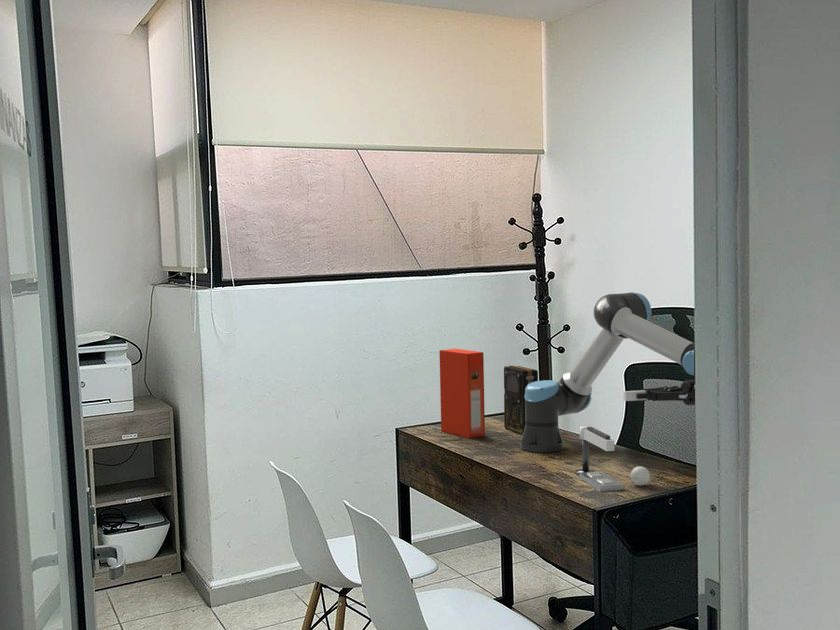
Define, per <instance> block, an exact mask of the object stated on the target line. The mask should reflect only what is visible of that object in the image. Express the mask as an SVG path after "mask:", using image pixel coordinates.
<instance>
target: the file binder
mask: <svg viewBox="0 0 840 630" xmlns="http://www.w3.org/2000/svg"><path fill="white" fill-rule="evenodd" d="M484 361H485V360H484V352H483V351H477V350H469V349H468V350H467V349H460V348H449V349H448V348H447V349H441V350H439V383H440V384H439V385H440V386H439V387H440V388H439V390H440V392H439V393H440V431H441V432H443V433H446V434H447V433H448V434H450V435H455V436H460V437H463V438H467V439H473V438H474V439H475V438H479V437H484V436H486V425H485V424H486V422H485V417H486V416H485V375H484V373H485V371H484V370H485V368H484V367H485V365H484V363H485V362H484Z"/></svg>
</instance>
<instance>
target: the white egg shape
mask: <svg viewBox="0 0 840 630" xmlns="http://www.w3.org/2000/svg"><path fill="white" fill-rule="evenodd" d="M629 475H630V479H631V482H632V483H633V484H634V485H636V486H640V487H641V486H645V485H647V484H648V483H649V481H650V480H651V475H650V472H649V470H648V469H647V468H646V467H644V466H636V467H634V468H632V470H631V472H630V474H629Z"/></svg>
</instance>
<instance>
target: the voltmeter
mask: <svg viewBox="0 0 840 630" xmlns="http://www.w3.org/2000/svg"><path fill="white" fill-rule="evenodd" d="M536 381H539V372H538V370H537V369H533V368H528V367H524V366H520V365H509V366H508V365H507V366H506V365H505V366H504V367H503V389H504V390H503V391H504V393H503V406H504V407H503V410H504V411H503V412H504V414H503V416H504V419H503V420H504V423H503V424H504V426H503V427H504V428H505V429H506V430H509V431H511V432H514V433H516V434H519V435H521V436H522V435H523V432H524V429H525V389H526V386H527V385H528V384H530V383H532V382H536Z"/></svg>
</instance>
